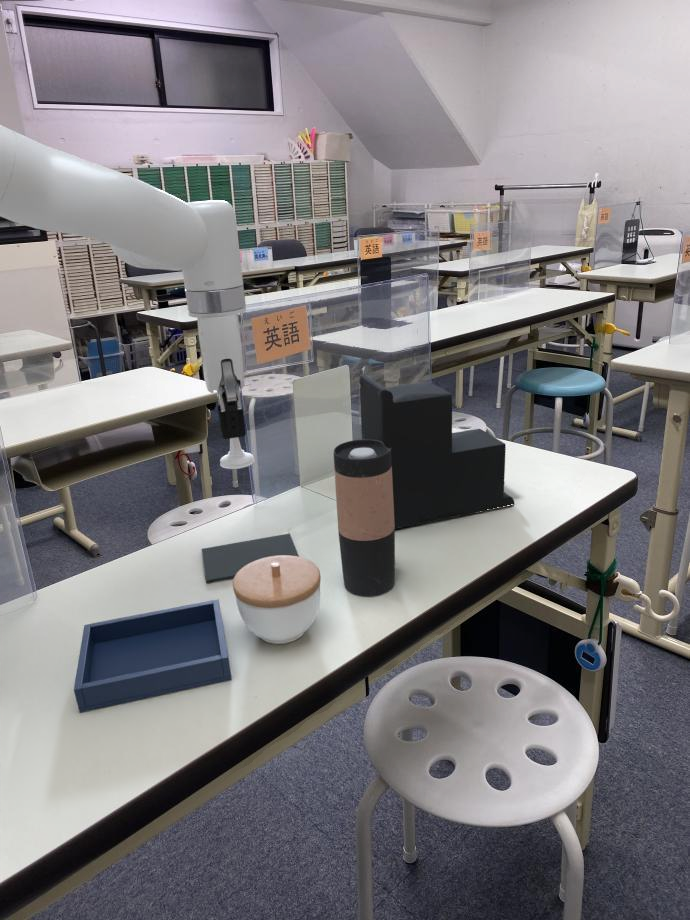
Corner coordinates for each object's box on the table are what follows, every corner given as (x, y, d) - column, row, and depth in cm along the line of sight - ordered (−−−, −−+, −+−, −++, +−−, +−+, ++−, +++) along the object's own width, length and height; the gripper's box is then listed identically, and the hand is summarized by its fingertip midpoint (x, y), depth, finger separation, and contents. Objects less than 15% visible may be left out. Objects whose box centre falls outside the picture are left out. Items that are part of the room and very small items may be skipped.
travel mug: (333, 593, 94) (323, 457, 86) (353, 565, 100) (345, 437, 93) (386, 601, 91) (380, 462, 84) (403, 572, 97) (399, 441, 90)
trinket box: (291, 596, 94) (285, 535, 90) (342, 629, 86) (337, 563, 82) (223, 629, 87) (214, 565, 84) (271, 668, 80) (263, 599, 76)
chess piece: (241, 454, 101) (233, 388, 98) (261, 461, 98) (253, 394, 94) (213, 463, 98) (203, 396, 95) (232, 471, 95) (223, 402, 91)
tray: (79, 713, 74) (73, 690, 73) (89, 645, 86) (84, 624, 85) (231, 679, 78) (228, 657, 77) (221, 619, 89) (218, 598, 88)
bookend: (484, 483, 124) (486, 356, 116) (515, 506, 115) (520, 370, 106) (363, 507, 118) (355, 374, 110) (385, 533, 109) (379, 391, 100)
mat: (206, 583, 98) (206, 580, 98) (201, 551, 107) (201, 548, 107) (302, 565, 101) (301, 562, 101) (289, 536, 110) (289, 533, 110)
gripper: (184, 296, 96) (202, 421, 103) (190, 313, 82) (210, 457, 88) (238, 291, 98) (252, 414, 104) (252, 307, 83) (268, 448, 90)
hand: (233, 433), depth 96 cm, fingers closed on chess piece
